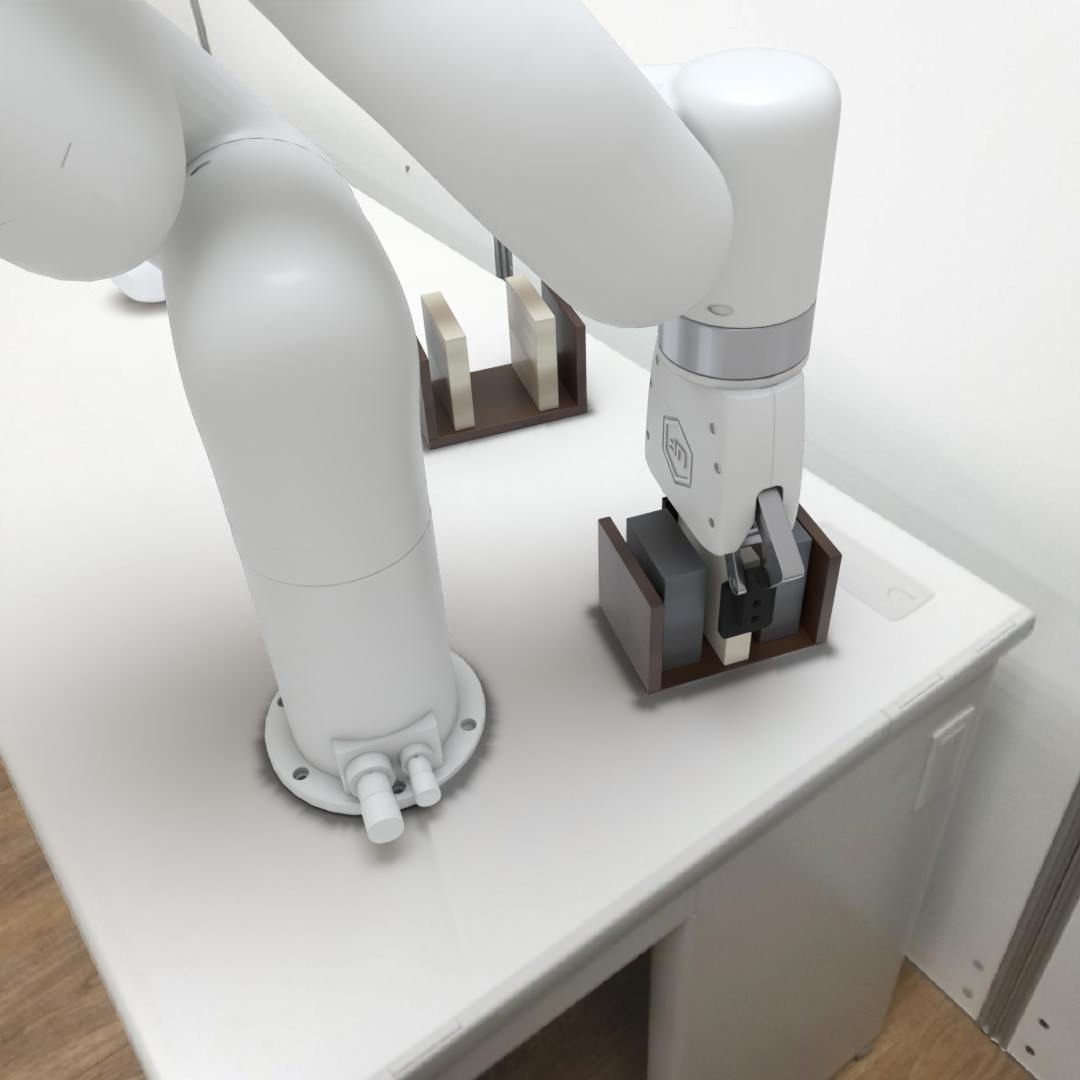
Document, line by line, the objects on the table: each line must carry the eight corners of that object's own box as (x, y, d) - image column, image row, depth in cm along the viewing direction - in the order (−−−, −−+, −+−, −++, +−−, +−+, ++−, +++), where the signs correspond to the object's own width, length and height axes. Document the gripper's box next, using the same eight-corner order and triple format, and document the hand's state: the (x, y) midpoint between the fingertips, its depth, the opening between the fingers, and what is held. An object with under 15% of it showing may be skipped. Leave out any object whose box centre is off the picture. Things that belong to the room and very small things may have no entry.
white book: (748, 659, 66) (760, 559, 61) (724, 666, 66) (734, 566, 60) (697, 581, 71) (703, 483, 66) (674, 587, 71) (679, 489, 66)
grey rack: (825, 650, 67) (844, 546, 62) (648, 703, 65) (651, 599, 59) (763, 567, 73) (775, 465, 68) (598, 612, 71) (597, 510, 65)
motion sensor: (198, 271, 108) (177, 195, 103) (208, 307, 103) (187, 228, 98) (113, 288, 106) (88, 211, 101) (119, 325, 101) (93, 246, 96)
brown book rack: (587, 412, 87) (585, 313, 82) (429, 449, 85) (416, 349, 79) (553, 361, 93) (549, 265, 87) (405, 395, 90) (390, 297, 84)
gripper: (599, 261, 60) (602, 513, 72) (746, 437, 48) (720, 707, 59) (725, 235, 62) (708, 486, 73) (900, 398, 49) (845, 669, 61)
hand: (713, 583), depth 66 cm, fingers closed on white book, 7 cm apart
